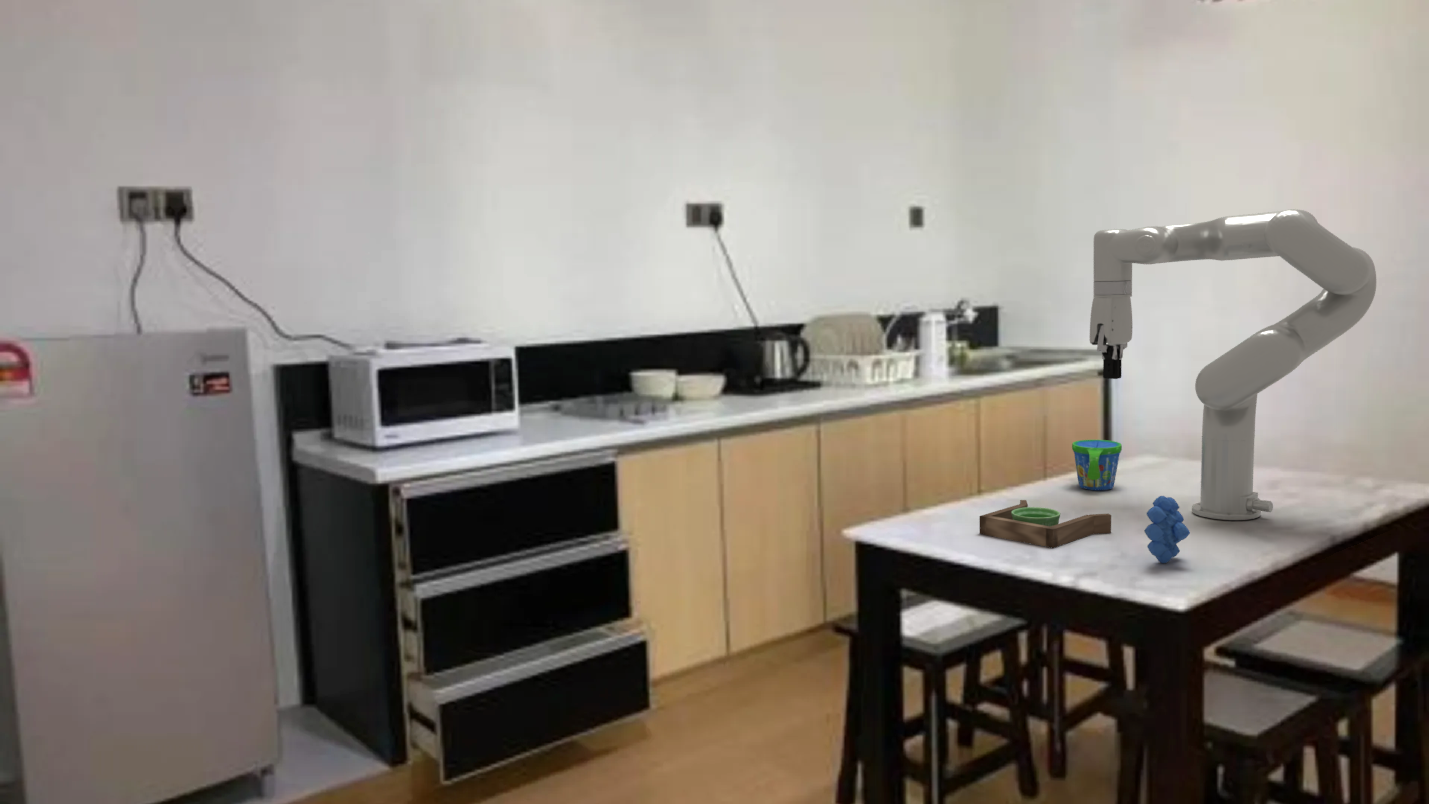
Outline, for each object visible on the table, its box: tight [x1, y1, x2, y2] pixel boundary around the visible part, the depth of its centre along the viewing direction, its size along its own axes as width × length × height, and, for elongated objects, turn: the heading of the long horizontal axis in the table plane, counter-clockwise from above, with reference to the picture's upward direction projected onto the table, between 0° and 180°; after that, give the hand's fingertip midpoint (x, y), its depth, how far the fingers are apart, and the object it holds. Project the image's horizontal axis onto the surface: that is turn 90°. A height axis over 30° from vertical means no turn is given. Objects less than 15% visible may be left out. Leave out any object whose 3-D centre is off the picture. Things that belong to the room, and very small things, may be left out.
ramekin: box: [1011, 506, 1061, 527], centre depth 217 cm, size 9×9×4 cm
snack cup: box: [1071, 439, 1123, 491], centre depth 255 cm, size 16×10×10 cm
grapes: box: [1144, 495, 1191, 564], centre depth 194 cm, size 12×7×12 cm, turn 136°
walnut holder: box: [979, 499, 1112, 549], centre depth 218 cm, size 20×17×4 cm
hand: (1112, 378), depth 237 cm, fingers closed
